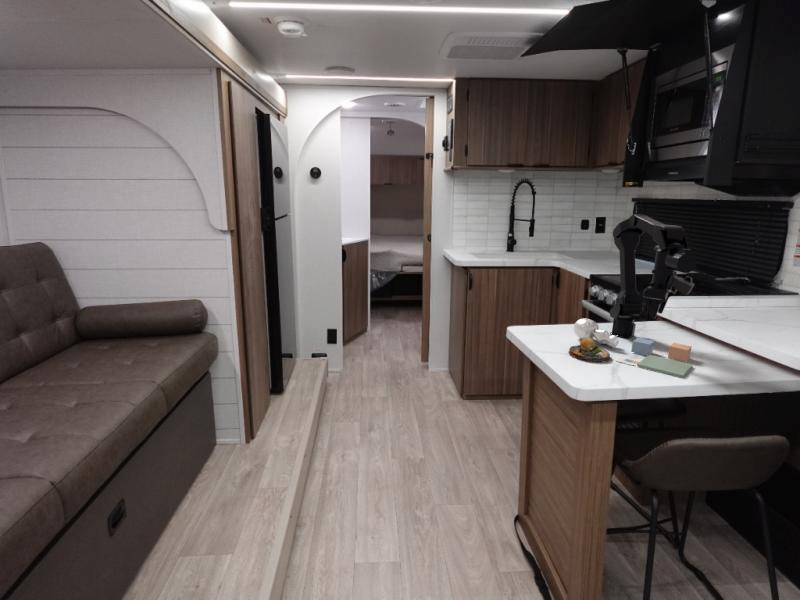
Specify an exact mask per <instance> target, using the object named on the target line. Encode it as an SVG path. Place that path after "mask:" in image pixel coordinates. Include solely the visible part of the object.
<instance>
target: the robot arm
mask: <svg viewBox="0 0 800 600" xmlns="http://www.w3.org/2000/svg"><path fill="white" fill-rule="evenodd" d="M645 233H647V234H648V235H651V236H652V240H653V242H655V243H656V244H657V245H656V246H654V247H653V251H655V252H656V253H655V258H654V267H653V269H652V270H651V274H652V277H651V278H652V279H651V282H649V286H647V287H646V288H644V289H643V290H642V294H640V293H639V292H638V291H637V280H636V279H637V278H636V277H637V275H636V274H637V273H636V248H637V246H638V245H639V244H640V241H641V240H640V239H641V237H642V236H643V234H645ZM612 236H613V241H614V245H615V246H616V248H617V249H618V251H619V274H620V275H619V279H620V282H619V283H620V292H619V293H618V295H617V297H616V298H615V304H614V305H613V306H612V307H611V308H610V310H609V317H610V318H612V319H613V320H612V321H613V323H612V330H611V332H610V333H609V335H610V334H611V333H612V334H613V335H618V336H617V337H619V336H622V337H621V338H624V337H625V339H630V338H632V337H633V336H635V333H636V332H635V331H636V326H637V325H636V323H635V321H636V320H637V321H639V320H640V318H641V317H642V314H643V311H644V302H643V299H644V301H645V305H646V307H647V309H648V313H649V316H650V319H652V320H655V319H656V318H657V315H658V314H663V312H664V310H665V308H666V305H667V304H668V300H670V297H671V296H674V295H675V294H676V292H677V291H678V292H680V293H681V294H683V295H685V296H687V295H689V294H690V293H691V291H692V289H693V288H694V287H695V283H694V282H693V277H691V276H689V275H687V276H686V277H684V278H683V277H682V276H677V275H678V272H679V273H682V274H688V273H691V272H692V271H694V269H695V268H696V267H697V263H698V261H697V259H696V256H695V255H694V254H692V253H693V252H692V249H690V246H689V245H690V243H689V241H688V238H687V235H686V232H685V228H684V227H683V226H681V225H674V224H673V225H672V224H665V223H663V222H660V221H658V220H656V219H653V218H652V217H649V215H646V214H632V215H631V216H629V217H628V218H627V219H625V220H623V221H620V222H619V223H618V224H617V225H616V226H615V227H614V229H613V231H612Z"/></svg>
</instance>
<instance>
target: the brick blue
mask: <svg viewBox="0 0 800 600" xmlns="http://www.w3.org/2000/svg"><path fill="white" fill-rule="evenodd" d="M654 347H655V341H654V340H650V339H645V338H640V337H636V338H635V339H634V340H632V345H631V351H630V353H631V352H634V353H633V354H636V353H637V355H640V354H641V355H640V356H644V355H645V356H644V357H647V356H648V355H652V354H653V352H654V351H653V350H654Z"/></svg>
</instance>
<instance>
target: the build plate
mask: <svg viewBox="0 0 800 600" xmlns="http://www.w3.org/2000/svg"><path fill="white" fill-rule="evenodd" d="M693 365H694V364H691V363H689V362H688V363H687V362H683V361H678V360H674V359H670V358H668V357H667V358H665V357H662V356H658V355H653V354H650V355H648V356H645V357H644V358H643V359H642V360H641V362H639V363H638V364H637V366H639V367H638V368H640V367H643V368H642V369H644V368H646V369H645V370H648V369H649V371H652V370H653V372H656V371H657V372H658V373H660V372H661V374H665V375H669V376H672V377H676V376H677V377H676V378H681V379H683V378H684V377H685V376H686V375H687V373H688V372H690V371H691V369H692V368H693Z"/></svg>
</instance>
